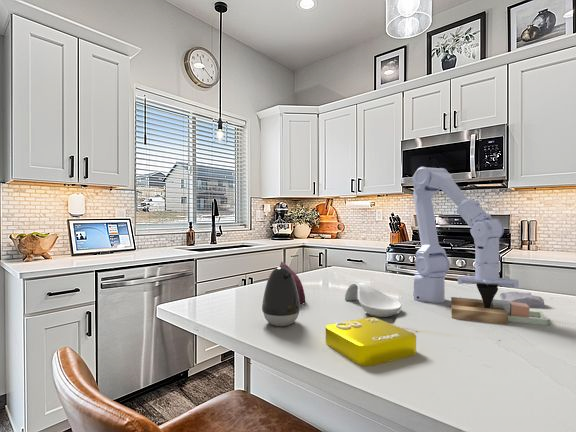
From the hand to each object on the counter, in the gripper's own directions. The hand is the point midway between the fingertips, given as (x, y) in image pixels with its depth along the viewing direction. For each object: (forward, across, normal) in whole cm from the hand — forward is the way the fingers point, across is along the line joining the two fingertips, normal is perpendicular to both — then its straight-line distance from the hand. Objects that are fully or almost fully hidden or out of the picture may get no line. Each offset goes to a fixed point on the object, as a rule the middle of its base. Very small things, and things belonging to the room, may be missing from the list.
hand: (487, 311), depth 97 cm
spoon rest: (+2, -32, -4) cm, 32 cm away
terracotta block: (+1, +7, 0) cm, 7 cm away
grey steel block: (+1, +3, 0) cm, 3 cm away
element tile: (+3, -26, -34) cm, 43 cm away
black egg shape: (+2, -50, -27) cm, 57 cm away
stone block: (+2, +10, +20) cm, 22 cm away
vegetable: (+2, -57, -6) cm, 58 cm away
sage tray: (+2, +9, 0) cm, 9 cm away
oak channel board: (+2, -2, 0) cm, 3 cm away
